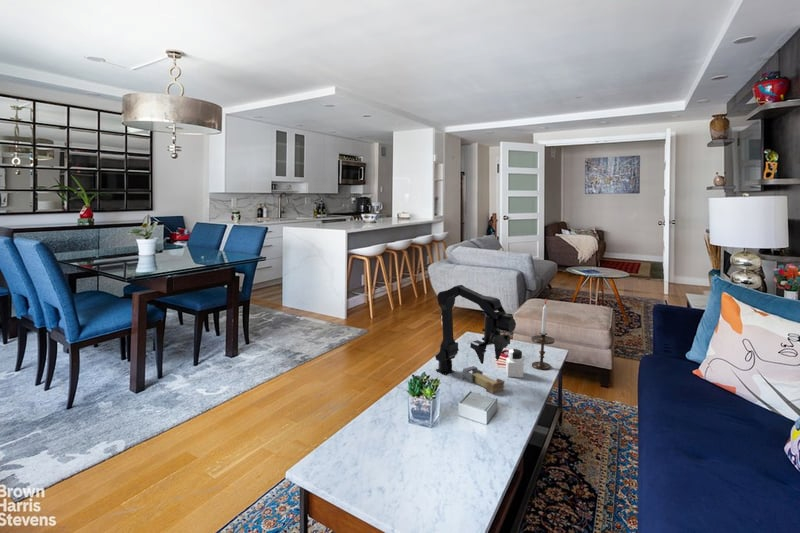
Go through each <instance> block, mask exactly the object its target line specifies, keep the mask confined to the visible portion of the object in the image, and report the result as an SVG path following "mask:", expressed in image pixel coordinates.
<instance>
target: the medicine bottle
mask: <svg viewBox="0 0 800 533" xmlns="http://www.w3.org/2000/svg"><path fill="white" fill-rule="evenodd" d="M522 357H523V351H521V350H520V349H519V348H511V349H509V350H508V357H506V360H505V373H506V375H507V377H508V378H524V368H525V367H524V365H525V363H524V361H523V359H522Z"/></svg>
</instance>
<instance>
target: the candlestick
mask: <svg viewBox="0 0 800 533" xmlns="http://www.w3.org/2000/svg"><path fill="white" fill-rule="evenodd" d="M547 300H548V299H547V298H545V300H544V306H543V307H542V316H541V317H542V320H541V321H542V322H541V332H539V334H538V335H533V336H531V341H532V342H533V343H535V344H539V345H540V350H539V352H538V353H539V354H540V355H539V356H538V358H540V359H539V361H533V362H532V363H531V367H532V368H534V369H535V370H539V371H540V370H541V371H548V370H551V369H552V365H551V364H550V363H548V362H545V361H544V359H545V356H544V355H545V354H546V351H545V345H553V344H554V343H555V342H556V341H555V338H554V337H552V336H547V335H548V333H547V331H546V329H547V312H548V307H547V305H546V304H547Z"/></svg>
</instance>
